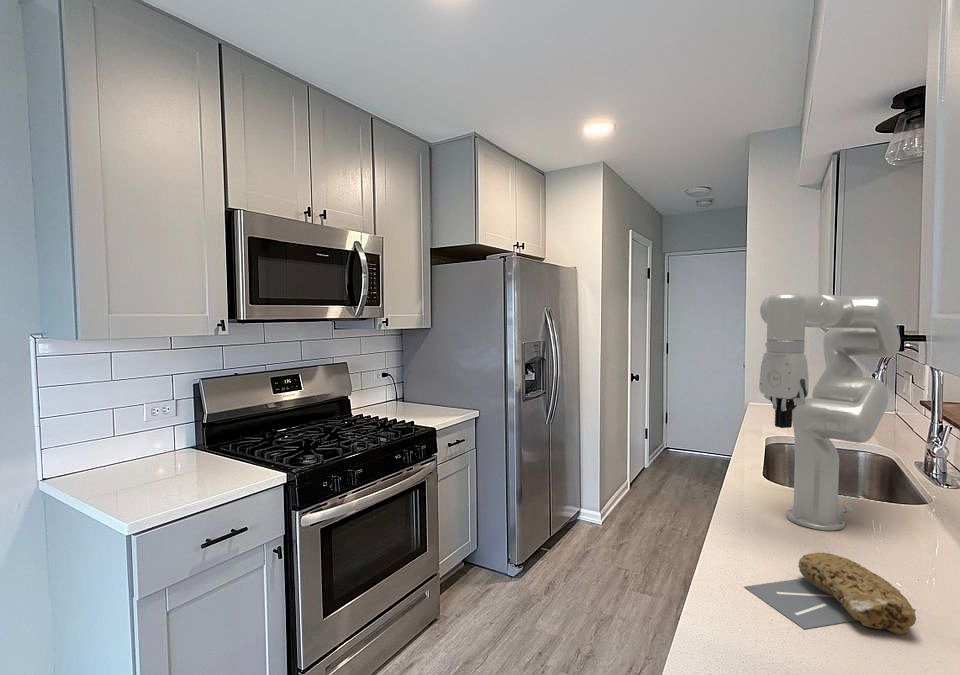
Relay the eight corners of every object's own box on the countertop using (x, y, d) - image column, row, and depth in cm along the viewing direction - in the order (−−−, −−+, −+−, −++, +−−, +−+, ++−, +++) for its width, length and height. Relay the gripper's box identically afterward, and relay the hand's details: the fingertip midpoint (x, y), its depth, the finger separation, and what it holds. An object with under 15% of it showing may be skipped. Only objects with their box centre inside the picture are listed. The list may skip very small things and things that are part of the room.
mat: (844, 573, 107) (844, 572, 107) (915, 610, 93) (915, 609, 93) (744, 587, 101) (744, 586, 101) (804, 629, 88) (804, 628, 88)
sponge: (925, 646, 85) (865, 565, 104) (923, 605, 83) (862, 530, 102) (835, 647, 88) (793, 568, 107) (831, 608, 87) (789, 535, 106)
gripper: (747, 346, 126) (745, 421, 127) (798, 350, 111) (796, 435, 112) (773, 345, 128) (771, 419, 129) (827, 349, 113) (824, 433, 114)
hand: (783, 426), depth 120 cm, fingers closed
